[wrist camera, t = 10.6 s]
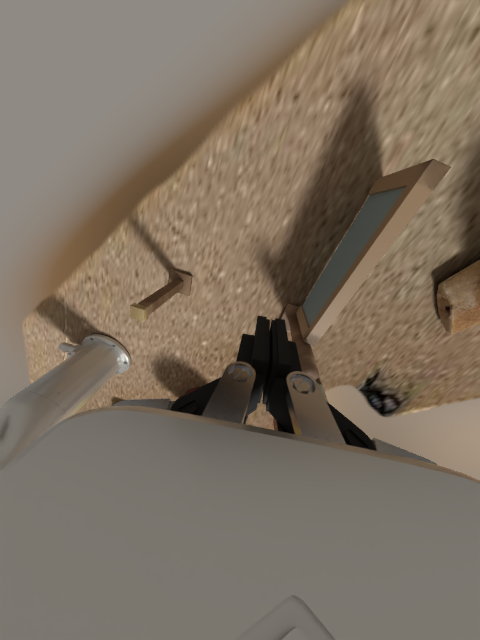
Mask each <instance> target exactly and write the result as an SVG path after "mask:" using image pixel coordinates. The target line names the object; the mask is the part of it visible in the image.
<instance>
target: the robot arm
mask: <svg viewBox="0 0 480 640" xmlns="http://www.w3.org/2000/svg"><path fill="white" fill-rule="evenodd" d="M59 349H60V350H62V351H66V352H70V353H69V354H68V355H67V357H68V359H66V360H65V361H63V362H62V363H60V364H59V365H58V366H56V367H55V368H53V369H52V370H50V371H49V372H48V373H46V374H45V375H43V376H42V377H40V378H39V379H37V380H36V381H35V382H33V383H32V384H30V385H29V386H28V387H26V388H25V389H23V390H22V391H20V392H19V393H17V394H16V395H15V396H13V397H12V398H10V399H9V400H8V401H7V402H6V403H5V404H4V405H3V406H2V408H0V640H480V480H477V479H475V478H473V477H470V476H468V475H466V474H463V473H460V472H457V471H454V470H451V469H448V468H445V467H442V466H439V465H437V464H436V463H434V462H432V461H430V460H428V459H426V458H424V457H421V456H418V455H416V454H413V453H411V452H408V451H406V450H403V449H401V448H399V447H396V446H393V445H391V444H388V443H386V442H383V441H381V440H378V439H375V438H373V439H372V440H371V439H370V438H369V437H368V436H367V435H366V434H365V433H364V432H363V431H362V430H361V429H359V428H358V427H357V426H356V425H355V424H353V423H352V422H351V421H350V420H348V419H347V418H346V417H345V416H344V415H342V414H341V413H340V412H339V411H338V410H336V409H335V408H334V407H333V406H332V405H330V404H329V403H328V402H327V401H326V400H325V398H324V396H323V393H322V391H321V389H320V387H319V385H318V383H317V382H316V380H315V379H314V378H313V377H312V376H310V375H308V374H306V373H304V372H302V370H301V365H300V360H299V355H298V351H297V346H296V342H292V341H288V337H287V330H286V324H285V320H284V319H277V318H276V319H275V320H272V322H271V327H270V320H268V319H266V317H263V316H258V318H257V324H256V330H255V336H254V335H247V334H243V335H242V339H241V344H240V348H239V352H238V356H237V361H236V362H233V363H231V364H229V365H228V366H227V367H226V369H225V371H224V373H223V375H222V377H221V378H219V379H217V380H214V381H212V382H210V383H208V384H206V385H204V386H202V387H200V388H198V389H196V390H194V391H192V392H190V393H188V394H186V395H184V396H182V397H180V398H179V399H177V400H176V401H170V399H140V400H124V401H120V402H118V403H116V404H114V405H112V406H110V407H103V408H97V409H92V410H88V411H84V412H81V413H78V414H75V413H76V412H77V411H78V410H79V409H80V408H81V407H82V406H83V405H84V404H85V403H86V402H87V401H88V400H89V399H90V398H91V397H92V396H93V395H94V394H95V393H96V392H97V391H98V390H99V389H100V388H101V387H102V386H103V385H104V384H105V383H106V382H107V381H108V380H109V379H110V378H111V377H112V376H113V375H114V374H120V373H124V372H126V371H127V370H128V369H129V367H130V365H131V359H130V356H129V354H128V352H127V351H126V349H125V348H124V347H123V346H122V345H121V344H119V343H118V342H117V341H115V340H114V339H112V338H110V337H107V336H105V335H100V334H92V335H89V336H88V337H86V338H85V339H84V340H83V341H82V345H80V346H79V345H76V346H74V345H72V344H68V343H65V342H64V343H61V344H60V345H59ZM262 392H263V404H266V411H269V412H270V414H271V415H272V416H273V417H274V429H275V430H270V429H265V428H260V427H255V426H250V425H246V422H247V419H248V415H249V414H250V413H252V412H253V411H254V410H256V408H257V403H260V400H261V396H262ZM74 414H75V415H74Z"/></svg>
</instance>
